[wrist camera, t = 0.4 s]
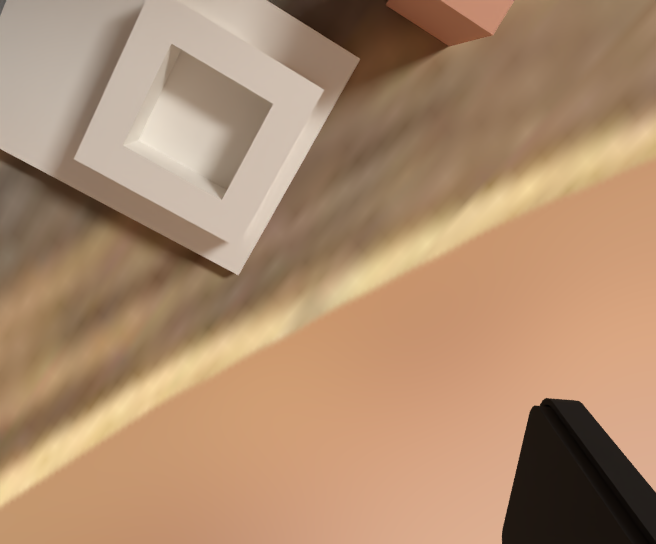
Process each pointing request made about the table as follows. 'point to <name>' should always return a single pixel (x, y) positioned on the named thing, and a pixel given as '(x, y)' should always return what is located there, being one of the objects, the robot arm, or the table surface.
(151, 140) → the socket stand
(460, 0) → the peg
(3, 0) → the grey l-shaped bracket
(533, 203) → the table surface
